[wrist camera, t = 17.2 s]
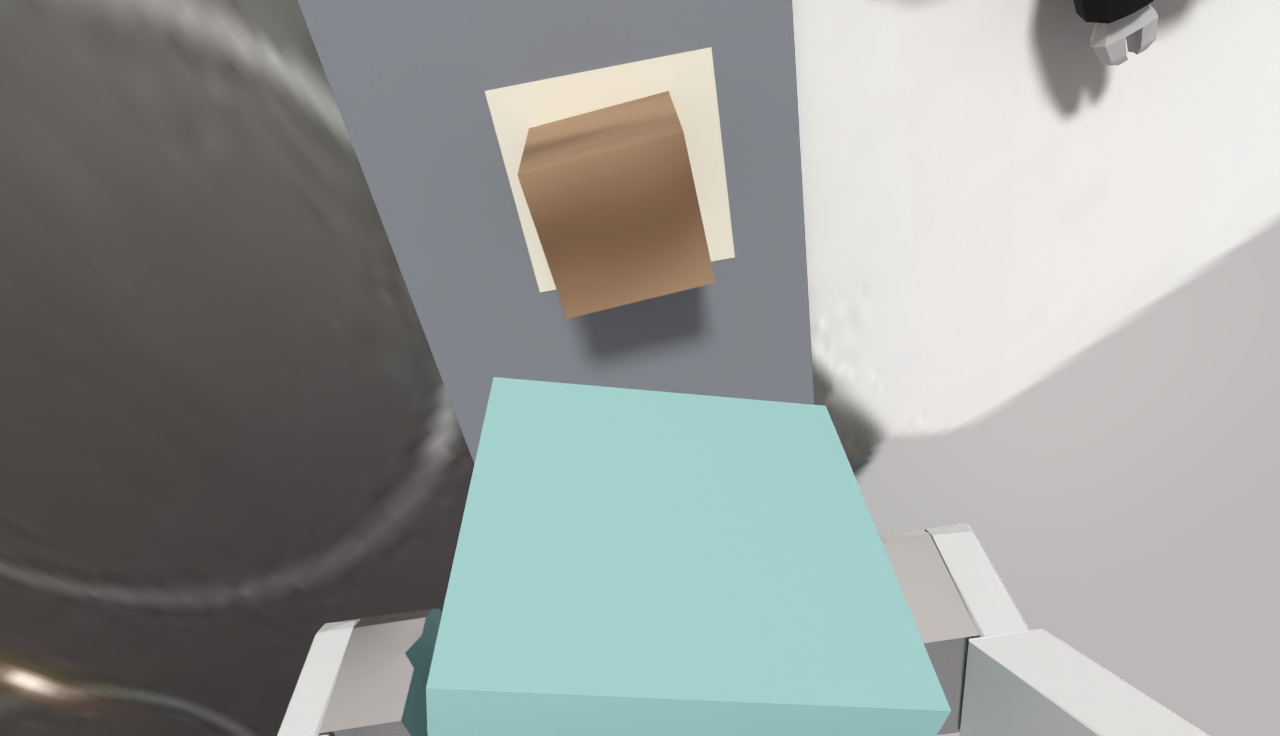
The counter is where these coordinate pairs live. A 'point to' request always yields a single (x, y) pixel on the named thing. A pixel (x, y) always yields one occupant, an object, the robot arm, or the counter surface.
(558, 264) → the walnut block
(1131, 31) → the robot toy
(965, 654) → the robot arm
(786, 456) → the teal block
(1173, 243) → the counter surface
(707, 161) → the mat
